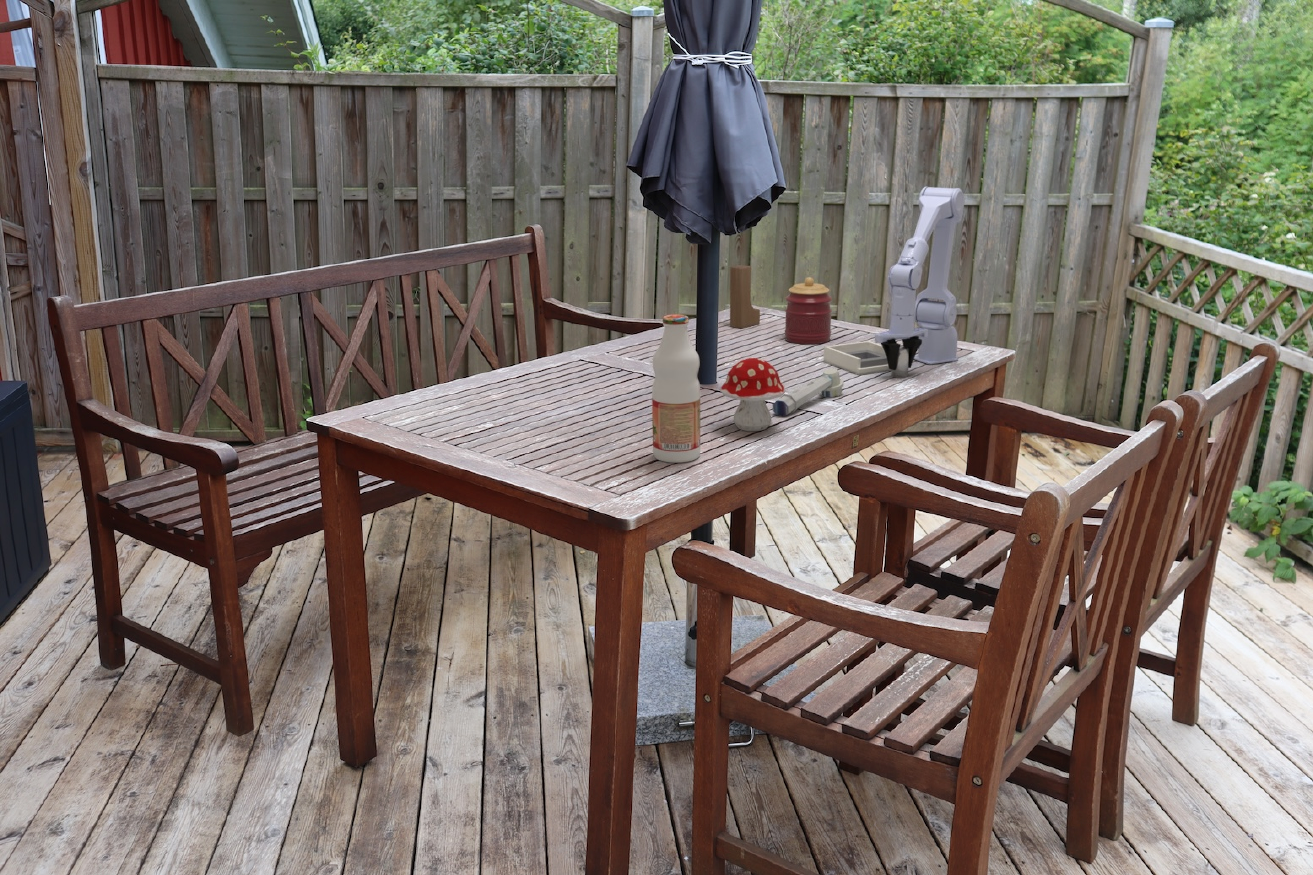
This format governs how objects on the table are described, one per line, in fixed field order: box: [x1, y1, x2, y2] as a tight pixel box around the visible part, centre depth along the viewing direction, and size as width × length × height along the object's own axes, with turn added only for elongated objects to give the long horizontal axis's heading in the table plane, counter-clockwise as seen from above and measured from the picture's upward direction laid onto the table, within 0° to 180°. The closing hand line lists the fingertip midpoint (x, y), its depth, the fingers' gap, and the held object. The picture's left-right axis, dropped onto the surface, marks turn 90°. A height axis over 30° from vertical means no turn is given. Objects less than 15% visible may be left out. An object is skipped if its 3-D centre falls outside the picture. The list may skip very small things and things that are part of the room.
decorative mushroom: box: [719, 357, 787, 432], centre depth 248 cm, size 14×14×15 cm
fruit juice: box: [651, 313, 701, 464], centre depth 228 cm, size 9×9×28 cm
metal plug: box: [890, 345, 909, 379], centre depth 289 cm, size 4×4×7 cm
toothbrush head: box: [772, 368, 844, 417], centre depth 267 cm, size 5×7×25 cm
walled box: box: [823, 340, 892, 376], centre depth 300 cm, size 14×16×4 cm
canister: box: [784, 276, 833, 345], centre depth 327 cm, size 13×13×18 cm
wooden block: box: [729, 264, 761, 329], centre depth 346 cm, size 9×4×18 cm, turn 137°
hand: (899, 368), depth 289 cm, fingers closed on metal plug, 4 cm apart
